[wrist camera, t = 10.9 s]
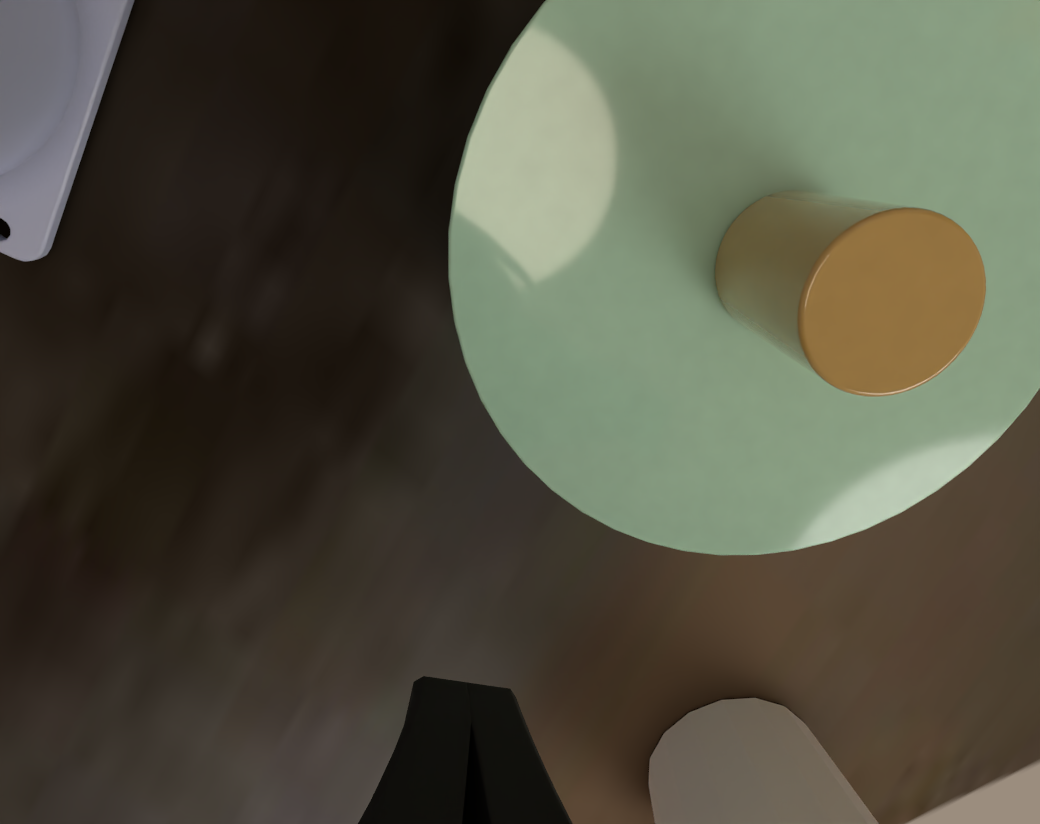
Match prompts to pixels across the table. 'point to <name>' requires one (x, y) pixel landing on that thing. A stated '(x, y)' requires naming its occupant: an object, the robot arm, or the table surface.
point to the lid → (753, 258)
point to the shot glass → (748, 770)
